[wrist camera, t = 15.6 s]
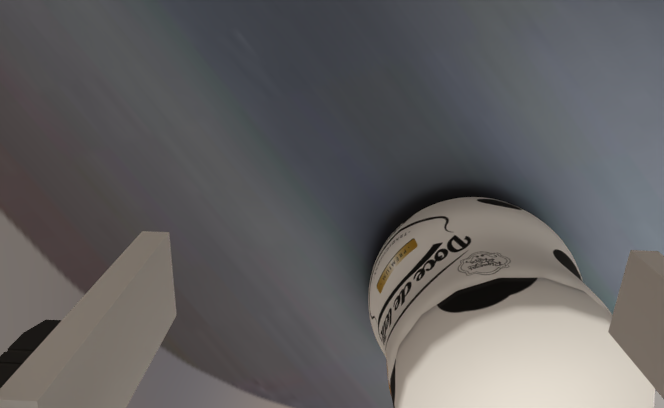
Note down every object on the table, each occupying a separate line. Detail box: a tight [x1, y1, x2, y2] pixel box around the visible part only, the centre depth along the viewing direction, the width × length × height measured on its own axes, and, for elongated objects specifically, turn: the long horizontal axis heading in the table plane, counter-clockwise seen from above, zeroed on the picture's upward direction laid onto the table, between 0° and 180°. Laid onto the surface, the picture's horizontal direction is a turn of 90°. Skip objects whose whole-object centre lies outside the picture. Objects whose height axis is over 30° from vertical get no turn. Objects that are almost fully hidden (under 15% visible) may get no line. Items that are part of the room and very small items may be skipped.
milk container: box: [368, 197, 655, 408], centre depth 38 cm, size 17×17×18 cm
